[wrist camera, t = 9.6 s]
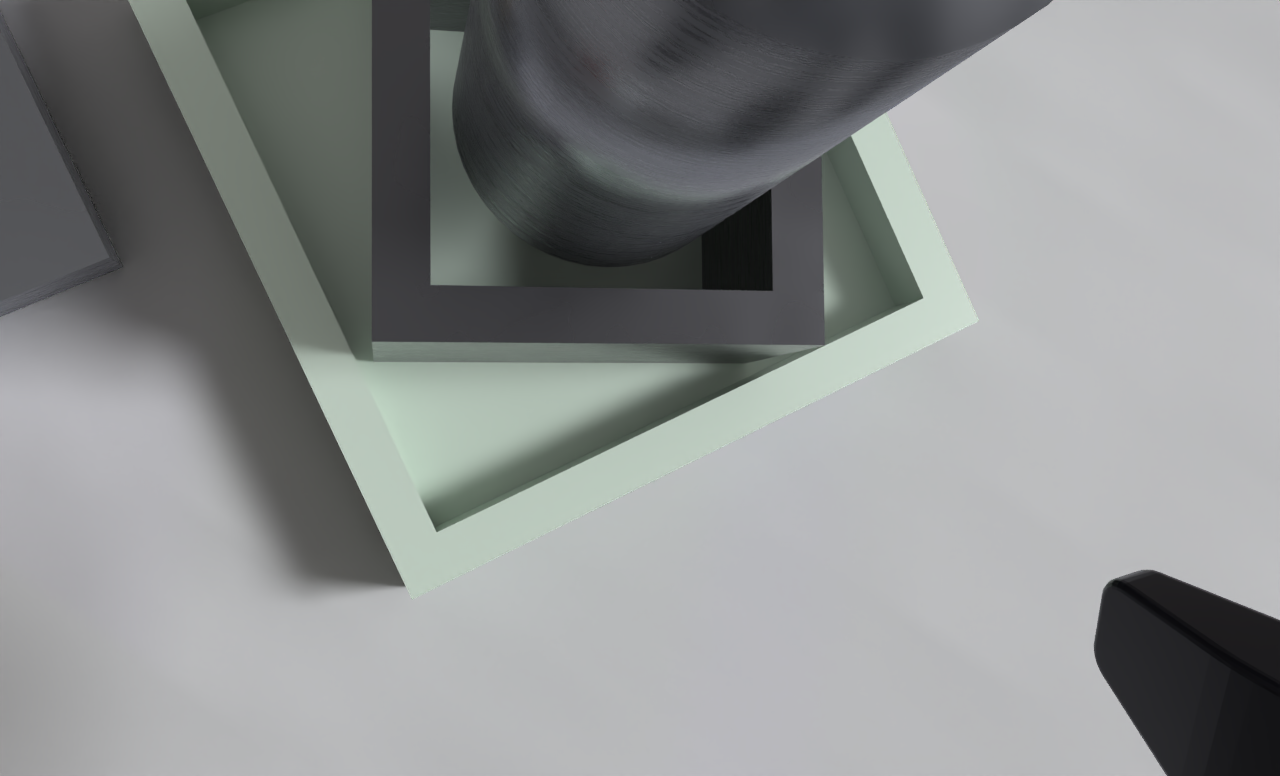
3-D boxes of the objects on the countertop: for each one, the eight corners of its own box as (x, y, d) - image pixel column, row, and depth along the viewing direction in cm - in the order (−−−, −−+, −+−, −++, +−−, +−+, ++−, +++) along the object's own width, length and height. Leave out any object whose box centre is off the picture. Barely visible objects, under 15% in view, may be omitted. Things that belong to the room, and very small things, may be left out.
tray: (934, 330, 23) (979, 321, 22) (409, 587, 21) (412, 599, 19) (697, -197, 23) (725, -251, 21) (134, 6, 20) (111, -36, 19)
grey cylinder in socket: (745, 363, 22) (1299, 235, 9) (373, 362, 20) (358, 205, 7) (740, 6, 22) (1267, -644, 9) (374, -20, 21) (359, -831, 8)
